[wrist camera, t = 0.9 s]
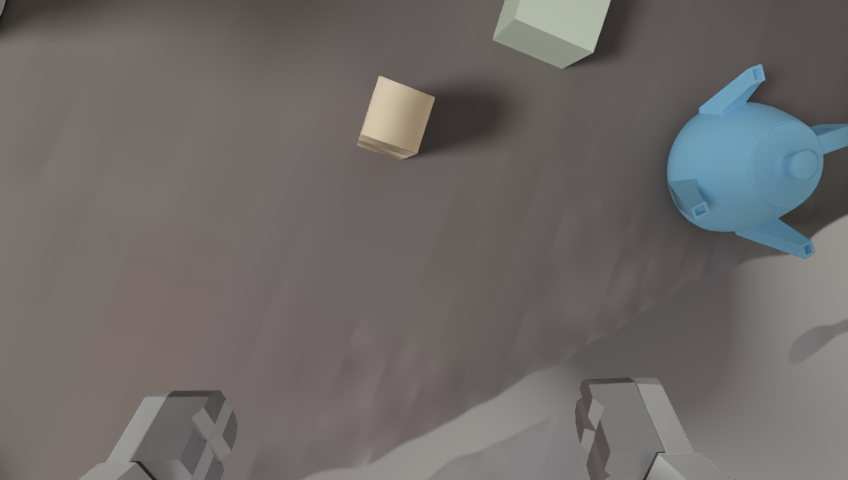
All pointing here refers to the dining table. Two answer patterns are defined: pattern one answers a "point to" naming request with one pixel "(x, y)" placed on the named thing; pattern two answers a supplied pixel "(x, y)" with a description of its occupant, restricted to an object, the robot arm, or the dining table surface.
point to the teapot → (749, 166)
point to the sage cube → (552, 28)
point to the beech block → (395, 119)
